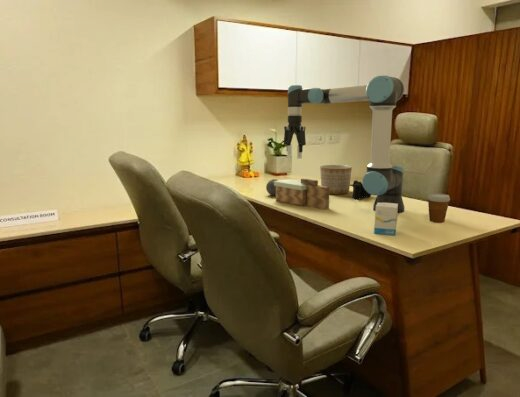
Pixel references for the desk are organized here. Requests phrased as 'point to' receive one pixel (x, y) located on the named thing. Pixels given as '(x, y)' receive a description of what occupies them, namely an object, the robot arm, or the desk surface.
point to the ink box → (386, 218)
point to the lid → (291, 184)
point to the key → (309, 181)
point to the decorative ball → (271, 187)
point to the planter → (336, 178)
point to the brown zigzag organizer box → (305, 196)
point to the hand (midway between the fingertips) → (294, 157)
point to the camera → (359, 191)
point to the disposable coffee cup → (438, 207)
